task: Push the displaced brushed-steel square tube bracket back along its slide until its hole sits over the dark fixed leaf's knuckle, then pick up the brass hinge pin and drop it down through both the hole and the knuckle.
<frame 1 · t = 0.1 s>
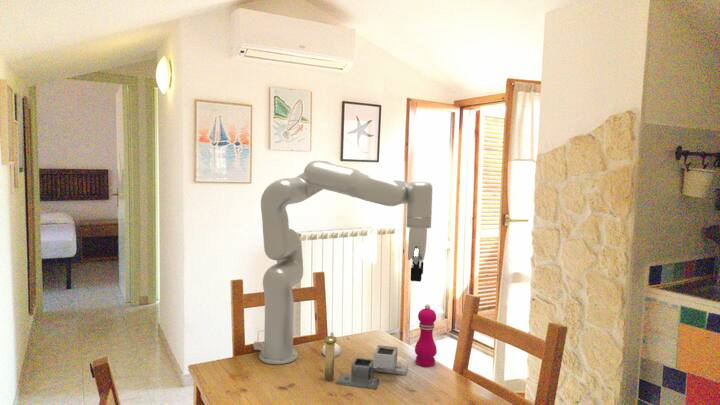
hand: (416, 277, 151), 31 cm above the table, fingers open, 9 cm apart
fixed leaf: (362, 374, 152), on the table
square tube bracket: (386, 360, 153), point 4 cm above the table, slide at 7.0 cm
hinge pin: (329, 379, 149), on the table
pepper mill: (425, 363, 163), on the table
garlic bulb: (331, 355, 168), on the table
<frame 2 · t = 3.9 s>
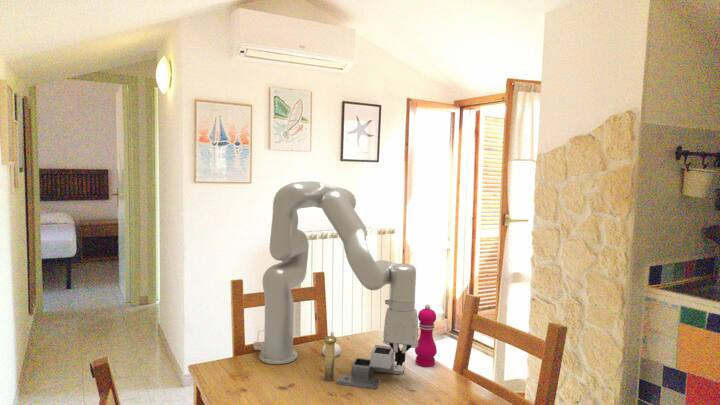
hand: (399, 363, 149), 5 cm above the table, fingers closed
square tube bracket: (383, 360, 153), point 4 cm above the table, slide at 6.1 cm, touching gripper
everything else where it was.
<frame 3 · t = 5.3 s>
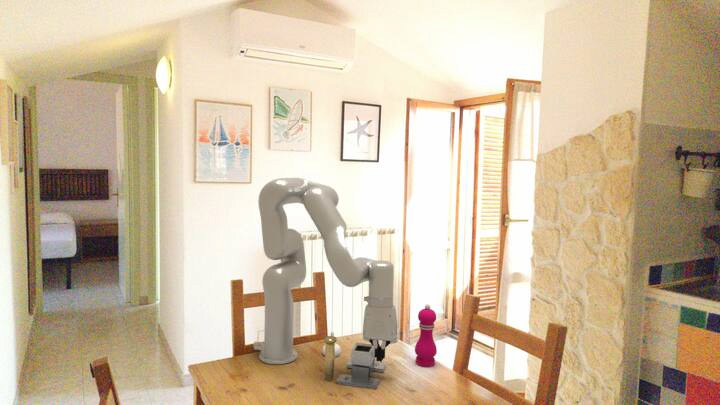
hand: (379, 360, 151), 5 cm above the table, fingers closed
square tube bracket: (364, 358, 155), point 4 cm above the table, slide at -0.1 cm, touching gripper
everything else where it was.
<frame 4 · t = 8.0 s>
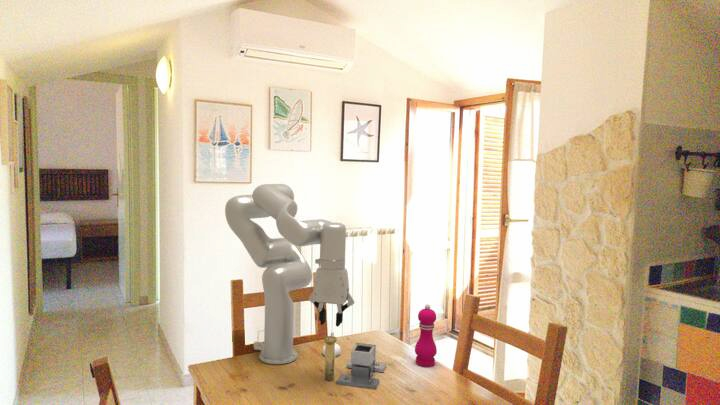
hand: (330, 323, 147), 17 cm above the table, fingers open, 4 cm apart
square tube bracket: (364, 358, 155), point 4 cm above the table, slide at 0.0 cm
everything else where it was.
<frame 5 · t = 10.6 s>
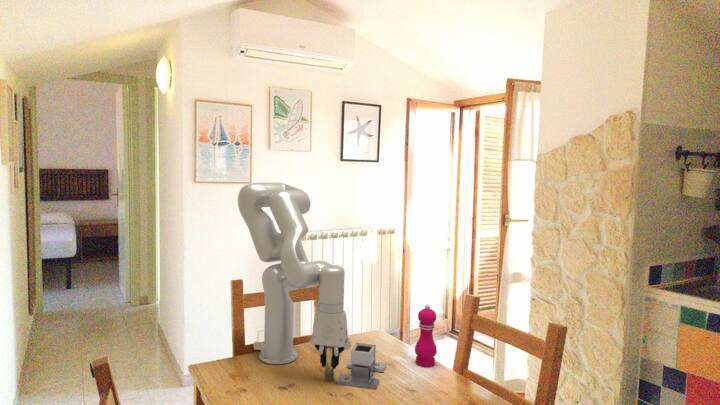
hand: (329, 365, 148), 4 cm above the table, fingers closed on hinge pin, 2 cm apart
hinge pin: (329, 379, 149), on the table, touching gripper
everything else where it was.
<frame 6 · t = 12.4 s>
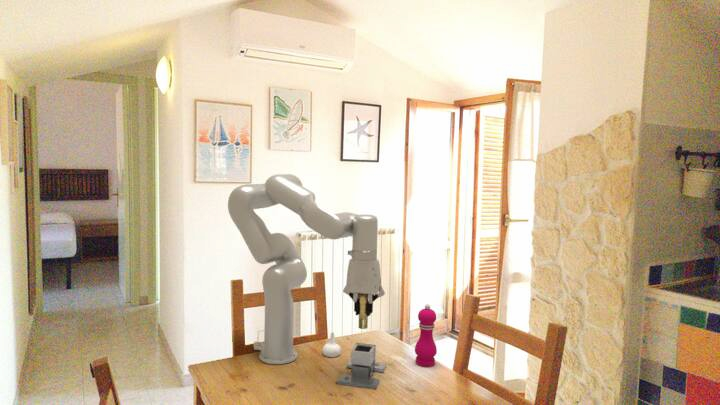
hand: (363, 314, 151), 19 cm above the table, fingers closed on hinge pin, 2 cm apart
hinge pin: (363, 327, 151), point 15 cm above the table, touching gripper
everything else where it was.
when the fingers open (9 cm above the table, at t = 14.5 s): hinge pin drops 5 cm, resting in fixed leaf.
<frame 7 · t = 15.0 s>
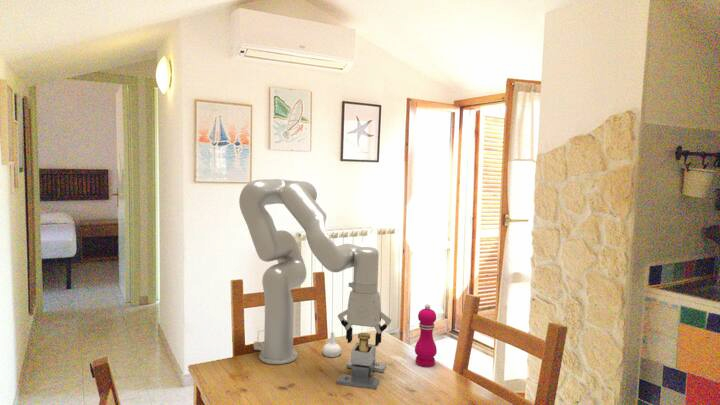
hand: (363, 342, 152), 10 cm above the table, fingers open, 8 cm apart
hinge pin: (362, 375, 152), resting in fixed leaf
everything else where it was.
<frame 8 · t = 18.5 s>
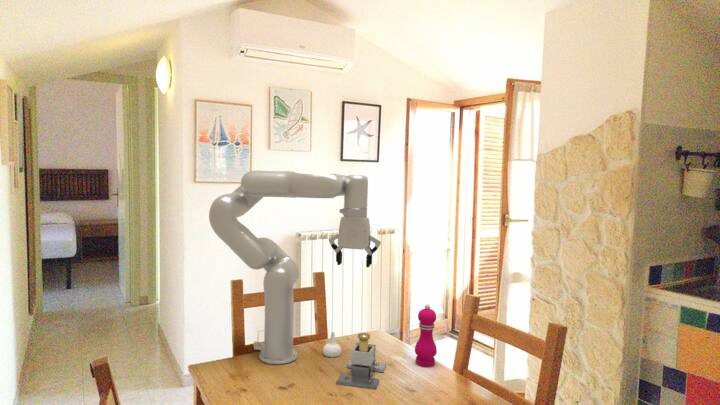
hand: (353, 265, 160), 32 cm above the table, fingers open, 9 cm apart
nothing on the table moved.
at the end: square tube bracket slide at 0.0 cm; hinge pin 0.1 cm off-centre on the fixed leaf, point 0.0 cm above the fixed leaf's base; hinge pin tilted 0° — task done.
